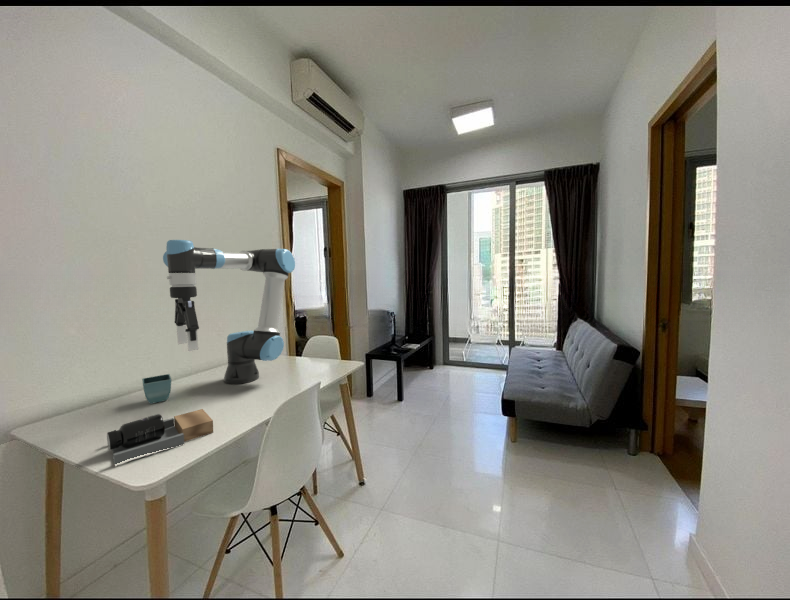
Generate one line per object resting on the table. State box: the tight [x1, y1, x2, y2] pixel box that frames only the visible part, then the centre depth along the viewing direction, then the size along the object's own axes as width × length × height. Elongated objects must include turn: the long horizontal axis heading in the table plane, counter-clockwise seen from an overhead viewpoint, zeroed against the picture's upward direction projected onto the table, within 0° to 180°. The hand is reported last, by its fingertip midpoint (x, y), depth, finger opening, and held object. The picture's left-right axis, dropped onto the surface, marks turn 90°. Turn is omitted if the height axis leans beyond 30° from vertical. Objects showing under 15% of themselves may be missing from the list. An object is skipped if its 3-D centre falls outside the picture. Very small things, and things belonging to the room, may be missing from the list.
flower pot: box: [141, 373, 172, 405], centre depth 120 cm, size 9×9×9 cm
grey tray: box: [111, 417, 185, 465], centre depth 88 cm, size 15×15×3 cm
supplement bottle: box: [106, 413, 165, 451], centre depth 88 cm, size 7×7×12 cm
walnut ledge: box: [173, 408, 214, 443], centre depth 97 cm, size 8×12×4 cm, turn 46°
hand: (187, 346), depth 106 cm, fingers open, 13 cm apart
